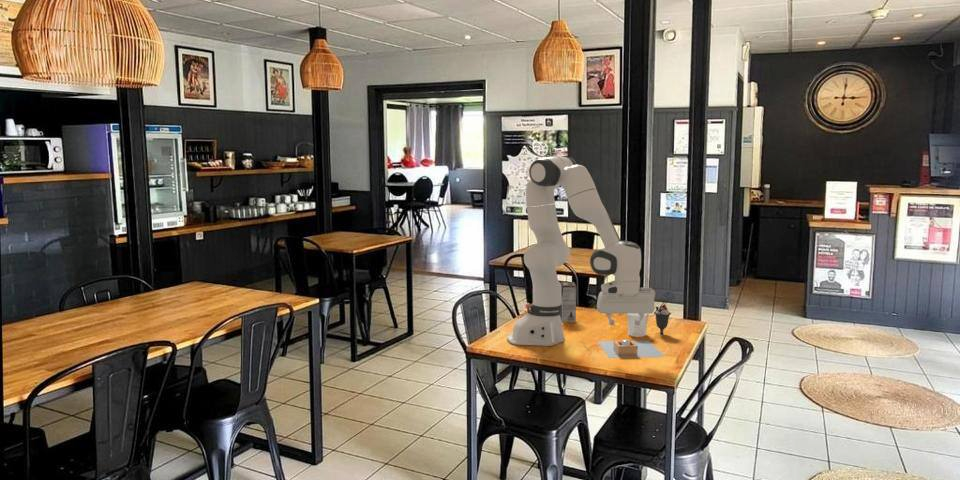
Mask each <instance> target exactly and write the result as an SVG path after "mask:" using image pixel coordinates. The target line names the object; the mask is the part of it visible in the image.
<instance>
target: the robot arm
mask: <svg viewBox="0 0 960 480" xmlns="http://www.w3.org/2000/svg"><path fill="white" fill-rule="evenodd" d="M528 175H529V178H530V179H529V180H528V181H527V183H526V186H525V203H526V211H527V220H528V226H529V229H530V230H531V231H532V232H533V234H534V236H535V239H536V241H537V243H534V244H532V245H531V246H529V247H528V248H527V249H526V250H525V252H524V254H523V262H524V265H525V266H526V268H527V270H529V273H530V278H531V282H532V302H531V303H529V302H526V304H525V308H526V310H527V313H526V314H524V315H523V316H522V317H520V318H519V319H518V320H516V321H515V323H514V325H513V328H512V329H513V330H512V332H510V333H508V335H507V342H508V343H510V344H512V345H518V346H519V345H520V346H521V345H522V346H544V347H552V346H554V345H556V344H560V343H563V342H564V341H565V340H566V339H565V334H564V331H563V324H562V323H563V322H562V321H561V319H562V304H561V284H560V282H561V281H559V279H558V275H557V274H558V273H557V268H558V267H561V266H563V265H564V264H565V263H566V262H567V261H568V260H569V258H570V255H571V249H570V246H569V245H568V244H567V242H566V241H565V239H564V237H563V234H562V232H561V229H560V226H559V222H558V215H557V209H556V207H557V206H556V199H555V190H556V189H557V188H562V189H563V190H564V192H565V196H566V199H567V201H568V204H569V206H570V209H571V211H572V212H573V214H574V215H575V216H576V217H578V218H579V219H582V220H584V221H586V222H588V223H590V224H592V225H593V226H594V227H595V229H596V230H597V233H598V235H599V237H600V239H601V241H602V243H603V246H604V248H599V249H597V250H595V251H594V252H592V254H591V255H590V258H589V265H590V268H591V270H592V271H593V273H595V274H596V275H598V276H599V275H600V276H608V275H609V276H610V275H613V276H614V280H612V281H609V282H605V283H602V284H601V285H600V288H601V291H600V292H599V293H598V295H597V301H596V310H597V311H598V312H599V313H600V314H606V317H607V319H608V325H609V326H614V325H615V319H612V316H613V315H612V314H627V313H638V314H639V318H638V319H637V320H635V325H638V326H640V321H641V320H642V319H643V317H644V314H648V315H650V314H651V315H652V314H654V312H655V297H656V291H655V289H653V287H640V286H641V277H640V271H641V269H642V251H641V247H640V245H638V244H637V243H636V242H632V241H629V240H628V241H627V240H621V239H620V236H619V234H618V231H617V230H616V226H615V225H614V223H613V221H612V218H611V216H610V214H609V213H608V211H607V209H606V207H605V205H604V204H603V203H602V200H601V197H600V195H599V193H598V190H597V187H596V185H595V182H594V180H593V177H592V176H591V174H590V172H589V171H588V168H586V166H584V165H581V164H578V163H577V161H576V160H575V159H574V158H572V157H570V156H567V155H552V156H547V157H541V158H538V159H535V160H534V161H533V162H532V163H531V165H530V166H529V169H528Z"/></svg>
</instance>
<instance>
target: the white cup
mask: <svg viewBox="0 0 960 480" xmlns="http://www.w3.org/2000/svg"><path fill="white" fill-rule="evenodd" d="M626 314H627V315H626V316H627V317H626V318H627V320H626V321H627V334H628V336H629V337H634V338H636V337H637V338H641V337H642V338H643V337H645V336H646V335H647V331H648V330H647V328H648V317H649V316H648V315H649V314H644V317H643V319H642V320H641V321H640V326H638V325H635V320H637V319H638V318H639V314H638V313H626Z"/></svg>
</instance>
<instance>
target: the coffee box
mask: <svg viewBox="0 0 960 480" xmlns="http://www.w3.org/2000/svg"><path fill="white" fill-rule="evenodd" d="M559 282H560V284H561V304H562V319H561V321H562V323H563V322H564V323H565V322H566V323H576V322H577V321H576V318H577V315H576V314H577V285H576V282H575V281H559Z"/></svg>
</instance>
